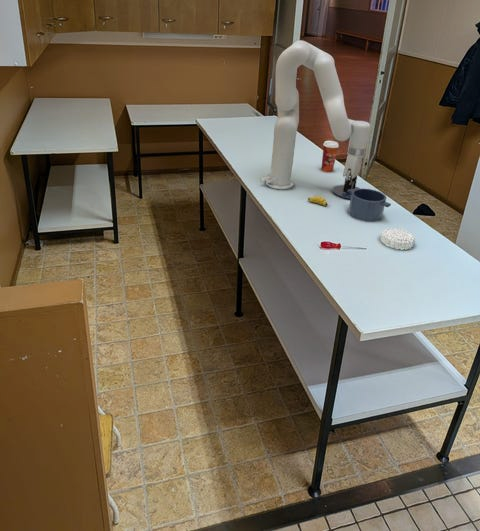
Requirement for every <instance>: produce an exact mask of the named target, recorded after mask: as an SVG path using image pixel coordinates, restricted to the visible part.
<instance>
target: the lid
mask: <svg viewBox="0 0 480 531" xmlns="http://www.w3.org/2000/svg"><path fill="white" fill-rule="evenodd" d="M351 185H352V186H351V189H353V185H354V181H353V180H352V183H351ZM343 189H344V184H339V185H338V184H337V185H335V186H333V187H332V193H333V194H334V195H336V196H338V197H341V198H344V199H347V200H351V195H352V194H351V193H346V192H343ZM356 189H362V188H361V187H357V186H355V189H353V190H356Z"/></svg>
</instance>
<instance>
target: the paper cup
mask: <svg viewBox="0 0 480 531" xmlns="http://www.w3.org/2000/svg"><path fill="white" fill-rule="evenodd" d="M322 145H323V150H322V158H321V171H322V172H324V173H333V170H334V167H335V162H336V158H337V154H338V150H339V147H340V145H339V142H337V141H335V140H325V141H324V143H323V144H322Z"/></svg>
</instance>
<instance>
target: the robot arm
mask: <svg viewBox="0 0 480 531" xmlns="http://www.w3.org/2000/svg"><path fill="white" fill-rule="evenodd" d="M335 65H336V64H335V59H334V57H333V56H332V55H331V54H329V53H328V52H325V51H324V50H321V49H320V48H318V47H316V46H314V45H313V44H311V43H309V42H307V41H306V40H301V39H299V40H295V41H294V42H293V43H292V44H291V45H290V46H288V47H287V48H286V49H284V50H283V51H282V52H281V53H280V55H279V56H278V58H277V60H276V64H275V81H274V83H275V84H274V86H275V87H274V88H275V89H274V90H275V95H274V101H275V102H274V103H275V106H276V108H277V110H276V111H277V118H276V121H275V123H274V128H273V142H272V152H271V161H270V163H271V164H270V171H269V174H267V176H266V177H261V178H260V179H259V180H260V183H265V185H266V186H267V187H269V188H271V189H275V190H289V189H292V188H293V187H294V181H292V179H291V178H292V173H293V164H294V156H295V148H296V140H297V132H298V127H299V123H300V94H299V90H298V88H297V70H298V68H299V67H301V66H304V67H306V68H308V69H310V70H312V71H313V74H314V78H315V81H316V83H317V86H318V90H319V92H320V96H321V100H322V103H323V107H324V110H325V113H326V116H327V120H328V123H329V126H330V129H331V133H332V136H333V138H334V139H335V140H337V141H338V142H345V141H347V140H348V139H349V141H348V147H347V151H346V154H347V157H346V160H345V163H344V168H343V172H342V177H343V178H344V184H343V185H344V189H343V192H346V193H349V192H347V191H348V190H349V189H351V186H352V185H351V183H352V180H353V181H354V185H353V189H355V187H357V180H358V175H359V174H360V173H361V168H362V163H363V158H364V157H365V155H366V151H367V146H368V141H369V136H370V131H371V124H370V123H369V122H368V121H365V120H354V119H350V118H348V114H347V111H346V106H345V100H344V99H345V98H344V92H343V88H342V85H341V82H340V79H339V76H338V73H337V68H336V66H335Z"/></svg>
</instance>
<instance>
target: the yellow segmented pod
mask: <svg viewBox="0 0 480 531" xmlns="http://www.w3.org/2000/svg"><path fill="white" fill-rule="evenodd" d="M307 201H309V202H310V203H313V204H318V205H321V206H323V207H327V206H328V205H329V204H328V201H326V198H324V197H322V196H321V195H320V196H319V195H318V196H317V195H314V196H311V197H308V198H307Z"/></svg>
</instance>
